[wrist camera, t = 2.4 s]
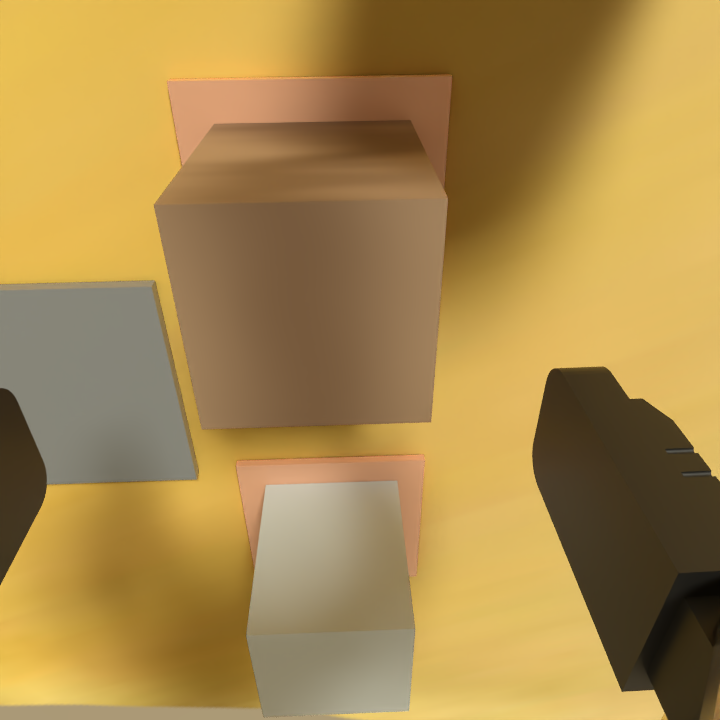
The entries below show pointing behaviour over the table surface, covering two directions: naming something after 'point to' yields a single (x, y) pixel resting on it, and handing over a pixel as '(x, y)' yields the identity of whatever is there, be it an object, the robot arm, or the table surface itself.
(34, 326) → the slate coaster
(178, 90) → the code tile
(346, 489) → the white block
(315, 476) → the code tile
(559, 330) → the table surface
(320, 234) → the walnut block
